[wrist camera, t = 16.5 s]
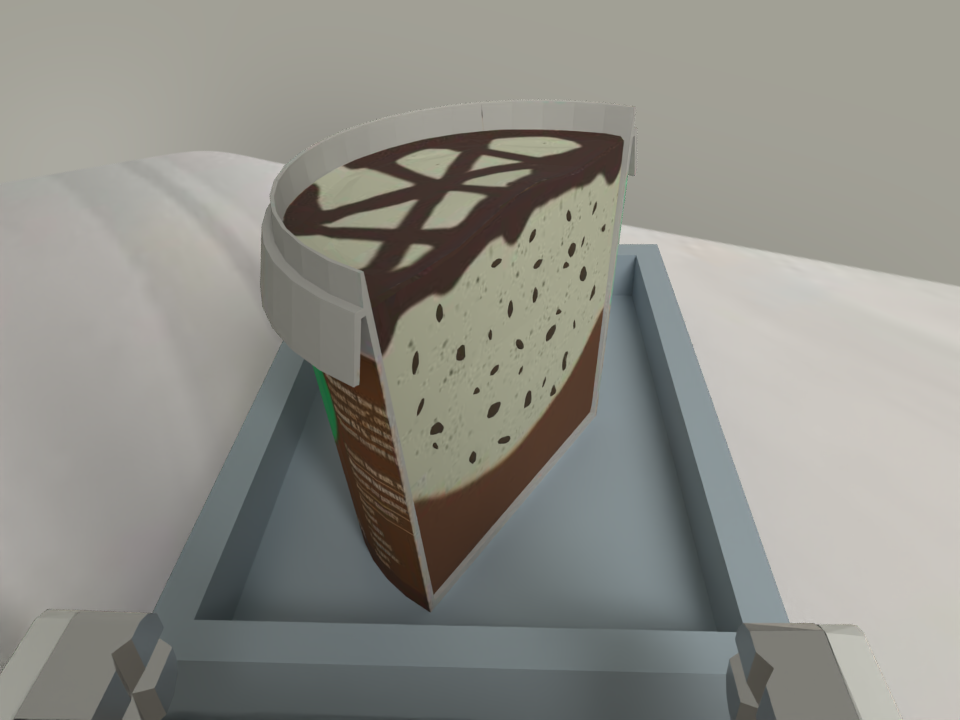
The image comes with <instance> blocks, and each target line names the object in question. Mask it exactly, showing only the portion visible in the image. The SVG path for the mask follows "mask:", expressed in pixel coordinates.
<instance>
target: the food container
mask: <svg viewBox="0 0 960 720" xmlns="http://www.w3.org/2000/svg"><path fill="white" fill-rule="evenodd" d="M635 111H636V107H635V106H627V105H620V104H612V103H603V102H590V101H576V100H505V101H486V102H474V103H464V104H455V105H447V106H440V107H434V108H427V109H420V110H416V111H411V112H406V113H401V114H397V115H392V116H388V117H385V118H381V119H377V120H373V121H370V122H366V123H363V124H360V125H358V126H354V127H352V128H349V129H346V130H343V131H340V132H338V133H336V134H334V135H332V136H329V137H327V138H325V139H323V140H321V141H319V142H317V143H315V144H313V145H312V146H310V147H309V148H307V149H305V150H304V151H302V152H300V153H299V154H298V155H297V156H295V157H294V158H293V159H292V160H291V161H290V162H289V163H287V164H286V165H285V166H284V167H283V169H282V170H281V171H280V173H279V174H278V176H277V177H276V178H275V180H274V182H273V186H272V189H271V193H270V204H269V206H268V207H267V209H266V213H265V216H264V219H263V223H262V234H261V277H260V288H261V297H262V306H263V309H264V311H265V313H266V315H267V317H268V319H269V321H270V323H271V326H272V328H273V329H274V330H275V331H276V332H277V334H278V335H279V336H280V337H281V338H282V339H283V340H284V342H285V343H286V344H287V345H288V346H289V347H290V348H291V350H293V351H294V352H295V353H297V354H298V355H300V356H301V357H302V358H304V359H305V360H306V361H308V362H309V363H311V364H312V366H313V369H314V373H315V376H316V379H317V383H318V386H319V390H320V393H321V396H322V400H323V403H324V406H325V410H326V413H327V417H328V420H329V423H330V427H331V430H332V434H333V437H334V440H335V444H336V447H337V450H338V454H339V457H340V461H341V464H342V467H343V471H344V474H345V478H346V481H347V484H348V488H349V491H350V494H351V498H352V501H353V505H354V508H355V511H356V515H357V518H358V522H359V525H360V528H361V532H362V535H363V538H364V542H365V544H366V546H367V548H368V550H369V552H370V554H371V557H372V559H373V561H374V562H375V563H376V565H377V566H378V567H379V569H380V570H381V572H382V573H383V574H384V576H385V577H386V578H387V579H388V580H389V581H390V582H391V583H392V584H393V585H394V586H395V587H396V588H397V589H398V590H399V591H400V592H401V593H403V594H404V595H405V596H406V597H407V598H409V599H410V600H412V601H413V602H415V603H416V604H418V605H419V606H421V607H422V608H424V609H426V610H427V611H429V612H430V613H431V612H432V610H433V609H434V608H435V607H436V606H437V604H438V603H439V602H440V601H441V600H442V598H443V597H444V596H445V595H446V594H447V593H448V591H449V590H450V589H451V588H452V587H453V585H454V584H455V583H456V582H457V581H458V579H459V578H460V577H461V576H462V575H463V574H464V572H465V571H466V570H467V569H468V568H469V566H470V565H471V564H472V563H473V562H474V560H475V559H476V558H477V557H478V556H479V554H480V553H481V552H482V551H483V550H484V549H485V547H486V546H487V545H488V544H489V543H490V541H491V540H492V539H493V538H494V537H495V535H496V534H497V533H498V532H499V531H500V529H501V528H502V527H503V526H504V525H505V524H506V522H507V521H508V520H509V519H510V518H511V516H512V515H513V514H514V513H515V512H516V510H517V509H518V508H519V507H520V506H521V505H522V503H523V502H524V501H525V500H526V499H527V497H528V496H529V495H530V494H531V493H532V491H533V490H534V489H535V488H536V487H537V485H538V484H539V483H540V482H541V481H542V480H543V478H544V477H545V476H546V475H547V474H548V472H549V471H550V470H551V469H552V468H553V466H554V465H555V464H556V463H557V462H558V460H559V459H560V458H561V457H562V456H563V455H564V453H565V452H566V451H567V450H568V449H569V447H570V446H571V445H572V444H573V443H574V441H575V440H576V439H577V438H578V437H579V436H580V434H581V433H582V432H583V431H584V430H585V428H586V427H587V426H588V425H589V424H590V422H591V421H592V420H593V419H594V418H595V416H596V413H597V406H598V398H599V390H600V383H601V375H602V368H603V360H604V353H605V345H606V337H607V330H608V322H609V315H610V307H611V300H612V292H613V284H614V277H615V269H616V262H617V254H618V247H619V239H620V231H621V224H622V216H623V208H624V201H625V193H626V186H627V178H628V175H631V176H635V175H636V173H637V128H635V127H634V125H635Z"/></svg>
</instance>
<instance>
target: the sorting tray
mask: <svg viewBox="0 0 960 720" xmlns="http://www.w3.org/2000/svg"><path fill="white" fill-rule="evenodd" d="M153 613H157V614H158V616H159V618H160V620H161V623H162V625H163V627H164V628H163V631H162V633H161V635H160V637H159V638H160V639H161V640H163V641H164V642H166V643H167V644H169V645H170V646H171V647H172V648H173V650H174V653H175V656H176V659H177V669H178V675H177V681H176V687H175V693H174V696H173V699H172V701H171V704H170V706H169V709H168V712H167V714H166V715H165V716H164V717H163V718H162V719H161V720H731V719H730V715H729V710H728V703H727V696H726V673H727V668H728V663H729V659H730V658H732V657H733V656H734V655H736V654H737V653H738V649H737V645H736V642H735V637H736V633H737V630H738V627H739V626H740V625H741V624H742V623H790V622H789V619H788V617H787V614H786V611H785V608H784V605H783V602H782V599H781V597H780V594H779V591H778V588H777V585H776V582H775V579H774V577H773V574H772V571H771V568H770V565H769V562H768V559H767V557H766V554H765V551H764V548H763V545H762V542H761V539H760V537H759V534H758V531H757V528H756V525H755V522H754V520H753V517H752V514H751V511H750V508H749V505H748V502H747V500H746V497H745V494H744V491H743V488H742V485H741V482H740V480H739V477H738V474H737V471H736V468H735V465H734V462H733V460H732V457H731V454H730V451H729V448H728V445H727V442H726V440H725V437H724V434H723V431H722V428H721V425H720V422H719V420H718V417H717V414H716V411H715V408H714V405H713V402H712V400H711V397H710V394H709V391H708V388H707V385H706V383H705V380H704V377H703V374H702V371H701V368H700V365H699V363H698V360H697V357H696V354H695V351H694V348H693V345H692V343H691V340H690V337H689V334H688V331H687V328H686V325H685V323H684V320H683V317H682V314H681V311H680V308H679V305H678V303H677V300H676V297H675V294H674V291H673V288H672V285H671V283H670V280H669V277H668V274H667V271H666V268H665V266H664V263H663V260H662V257H661V254H660V251H659V248H658V246H657V244H622V245H619V247H618V254H617V262H616V269H615V277H614V284H613V292H612V300H611V307H610V315H609V322H608V330H607V337H606V345H605V353H604V360H603V368H602V375H601V383H600V390H599V398H598V406H597V413H596V416H595V418H594V419H593V420H592V421H591V422H590V424H589V425H588V426H587V427H586V428H585V430H584V431H583V432H582V433H581V434H580V436H579V437H578V438H577V439H576V440H575V441H574V443H573V444H572V445H571V446H570V447H569V449H568V450H567V451H566V452H565V453H564V455H563V456H562V457H561V458H560V459H559V460H558V462H557V463H556V464H555V465H554V466H553V468H552V469H551V470H550V471H549V472H548V474H547V475H546V476H545V477H544V478H543V480H542V481H541V482H540V483H539V484H538V485H537V487H536V488H535V489H534V490H533V491H532V493H531V494H530V495H529V496H528V497H527V499H526V500H525V501H524V502H523V503H522V505H521V506H520V507H519V508H518V509H517V510H516V512H515V513H514V514H513V515H512V516H511V518H510V519H509V520H508V521H507V522H506V524H505V525H504V526H503V527H502V528H501V529H500V531H499V532H498V533H497V534H496V535H495V537H494V538H493V539H492V540H491V541H490V543H489V544H488V545H487V546H486V547H485V549H484V550H483V551H482V552H481V553H480V554H479V556H478V557H477V558H476V559H475V560H474V562H473V563H472V564H471V565H470V566H469V568H468V569H467V570H466V571H465V572H464V574H463V575H462V576H461V577H460V578H459V579H458V581H457V582H456V583H455V584H454V585H453V587H452V588H451V589H450V590H449V591H448V593H447V594H446V595H445V596H444V597H443V598H442V600H441V601H440V602H439V603H438V604H437V606H436V607H435V608H434V609H433V610H432V612H431V613H430V612H429V611H427V610H426V609H424V608H422V607H421V606H419V605H418V604H416V603H415V602H413V601H412V600H410V599H409V598H407V597H406V596H405V595H404V594H403V593H401V592H400V591H399V590H398V589H397V588H396V587H395V586H394V585H393V584H392V583H391V582H390V581H389V580H388V579H387V578H386V577H385V576H384V574H383V573H382V572H381V570H380V569H379V567H378V566H377V565H376V563H375V562H374V561H373V559H372V557H371V554H370V552H369V550H368V548H367V546H366V544H365V542H364V538H363V535H362V532H361V528H360V525H359V522H358V518H357V515H356V511H355V508H354V505H353V501H352V498H351V494H350V491H349V488H348V484H347V481H346V478H345V474H344V471H343V467H342V464H341V461H340V457H339V454H338V450H337V447H336V444H335V440H334V437H333V434H332V430H331V427H330V423H329V420H328V417H327V413H326V410H325V406H324V403H323V400H322V396H321V393H320V390H319V386H318V383H317V379H316V376H315V373H314V369H313V366H312V364H311V363H309V362H308V361H306V360H305V359H304V358H302V357H301V356H300V355H298V354H297V353H295V352H294V351H293V350H291V348H290V347H289V346H288V345H287V344H286V343H285V342H284V340H283V342H282V344H281V346H280V348H279V351H278V353H277V355H276V357H275V359H274V361H273V363H272V365H271V367H270V369H269V371H268V373H267V376H266V378H265V380H264V382H263V384H262V386H261V388H260V390H259V392H258V394H257V396H256V398H255V400H254V403H253V405H252V407H251V409H250V411H249V413H248V415H247V417H246V419H245V421H244V423H243V425H242V428H241V430H240V432H239V434H238V436H237V438H236V440H235V442H234V444H233V446H232V448H231V450H230V453H229V455H228V457H227V459H226V461H225V463H224V465H223V467H222V469H221V471H220V473H219V475H218V477H217V480H216V482H215V484H214V486H213V488H212V490H211V492H210V494H209V496H208V498H207V500H206V502H205V505H204V507H203V509H202V511H201V513H200V515H199V517H198V519H197V521H196V523H195V525H194V527H193V529H192V532H191V534H190V536H189V538H188V540H187V542H186V544H185V546H184V548H183V550H182V552H181V554H180V557H179V559H178V561H177V563H176V565H175V567H174V569H173V571H172V573H171V575H170V577H169V579H168V581H167V584H166V586H165V588H164V590H163V592H162V594H161V596H160V598H159V600H158V602H157V604H156V606H155V609H154V611H153Z"/></svg>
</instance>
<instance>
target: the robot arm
mask: <svg viewBox="0 0 960 720" xmlns="http://www.w3.org/2000/svg"><path fill="white" fill-rule="evenodd" d="M163 628H164V627H163V625H162V623H161V620H160V618H159V616H158V614H157V613H145V612H117V611H89V610H61V609H47V610H46V611H45V612H44V613H42V614H41V615H40V616H39V617H37V618H36V619H35V621H34V622H33V624H32V625H31V627H30V628H29V630H28V632H27V633H26V635H25V636H24V638H23V639H22V641H21V643H20V644H19V646H18V647H17V649H16V650H15V652H14V654H13V655H12V657H11V658H10V660H9V661H8V663H7V665H6V666H5V668H4V669H3V671H2V673H1V674H0V720H161V719H162V718H163V717H164V716H165V715H166V714H167V712H168V709H169V706H170V704H171V701H172V699H173V696H174V693H175V687H176V681H177V675H178V669H177V659H176V656H175V653H174V650H173V648H172V647H171V646H170V645H169V644H167V643H166V642H164V641H163V640H161V639H160V638H159V637H160V635H161V633H162V631H163ZM735 642H736V645H737V649H738V653H737V654H736V655H734V656H733V657H732V658H730V659H729V663H728V668H727V673H726V696H727V703H728V710H729V715H730V719H731V720H903V718H902V716H901V714H900V712H899V709H898V707H897V705H896V703H895V701H894V698H893V696H892V694H891V692H890V690H889V687H888V685H887V683H886V681H885V678H884V676H883V674H882V672H881V670H880V667H879V665H878V663H877V661H876V659H875V656H874V654H873V652H872V650H871V648H870V645H869V643H868V641H867V639H866V637H865V634H864V632H863V631H862V630H861V629H860V628H859V627H858V626H856V625H851V624H834V625H816V624H814V623H742V624H741V625H740V626H739V627H738V630H737V633H736V637H735Z"/></svg>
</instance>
